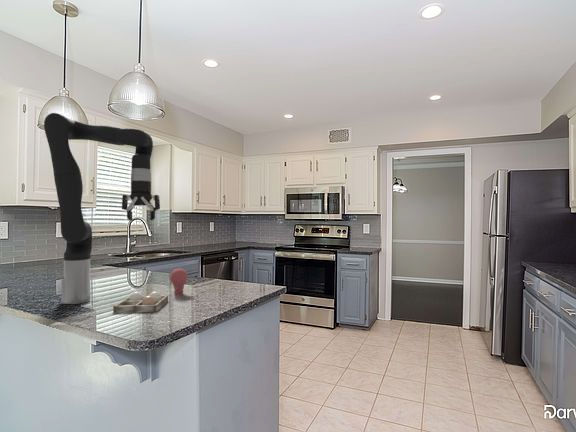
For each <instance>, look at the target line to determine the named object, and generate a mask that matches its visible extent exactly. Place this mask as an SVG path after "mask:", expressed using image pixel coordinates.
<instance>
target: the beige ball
mask: <svg viewBox="0 0 576 432" xmlns="http://www.w3.org/2000/svg"><path fill="white" fill-rule="evenodd" d="M145 296H146V297H144V298H143V300H142V305H155V304H156V300H155V298H154V297H153V296H149V295H145Z"/></svg>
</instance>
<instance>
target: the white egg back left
mask: <svg viewBox="0 0 576 432" xmlns="http://www.w3.org/2000/svg"><path fill="white" fill-rule="evenodd" d="M129 296H130V298H129V300H130V301H136V300H143V296H144V295H143V293H142V292H140V291H133V292H131V294H130V295H129Z"/></svg>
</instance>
